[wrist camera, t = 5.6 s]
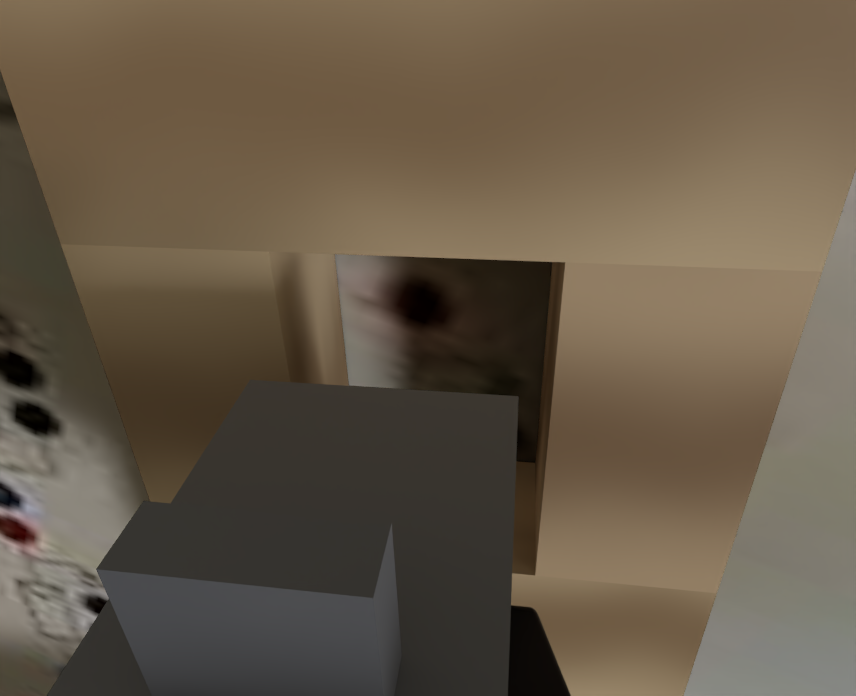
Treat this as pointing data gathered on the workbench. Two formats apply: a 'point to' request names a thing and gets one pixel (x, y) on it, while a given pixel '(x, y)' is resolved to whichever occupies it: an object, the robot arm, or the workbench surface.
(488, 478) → the servo
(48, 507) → the workbench surface
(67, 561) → the workbench surface
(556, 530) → the tan flat block
